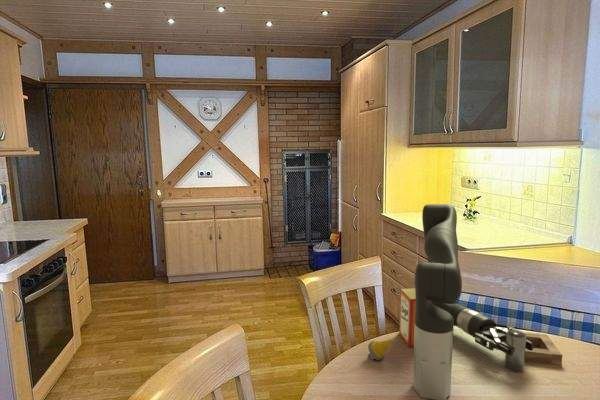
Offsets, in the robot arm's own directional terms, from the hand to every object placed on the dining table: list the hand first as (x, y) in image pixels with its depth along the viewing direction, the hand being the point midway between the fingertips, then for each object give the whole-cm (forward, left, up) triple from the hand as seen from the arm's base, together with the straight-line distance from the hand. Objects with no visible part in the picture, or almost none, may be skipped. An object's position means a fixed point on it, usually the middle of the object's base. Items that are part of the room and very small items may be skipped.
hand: (522, 349), depth 107 cm
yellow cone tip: (-2, +38, -7) cm, 39 cm away
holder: (+13, -6, -7) cm, 15 cm away
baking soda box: (+12, +28, -7) cm, 31 cm away
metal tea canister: (+2, +1, -7) cm, 7 cm away
